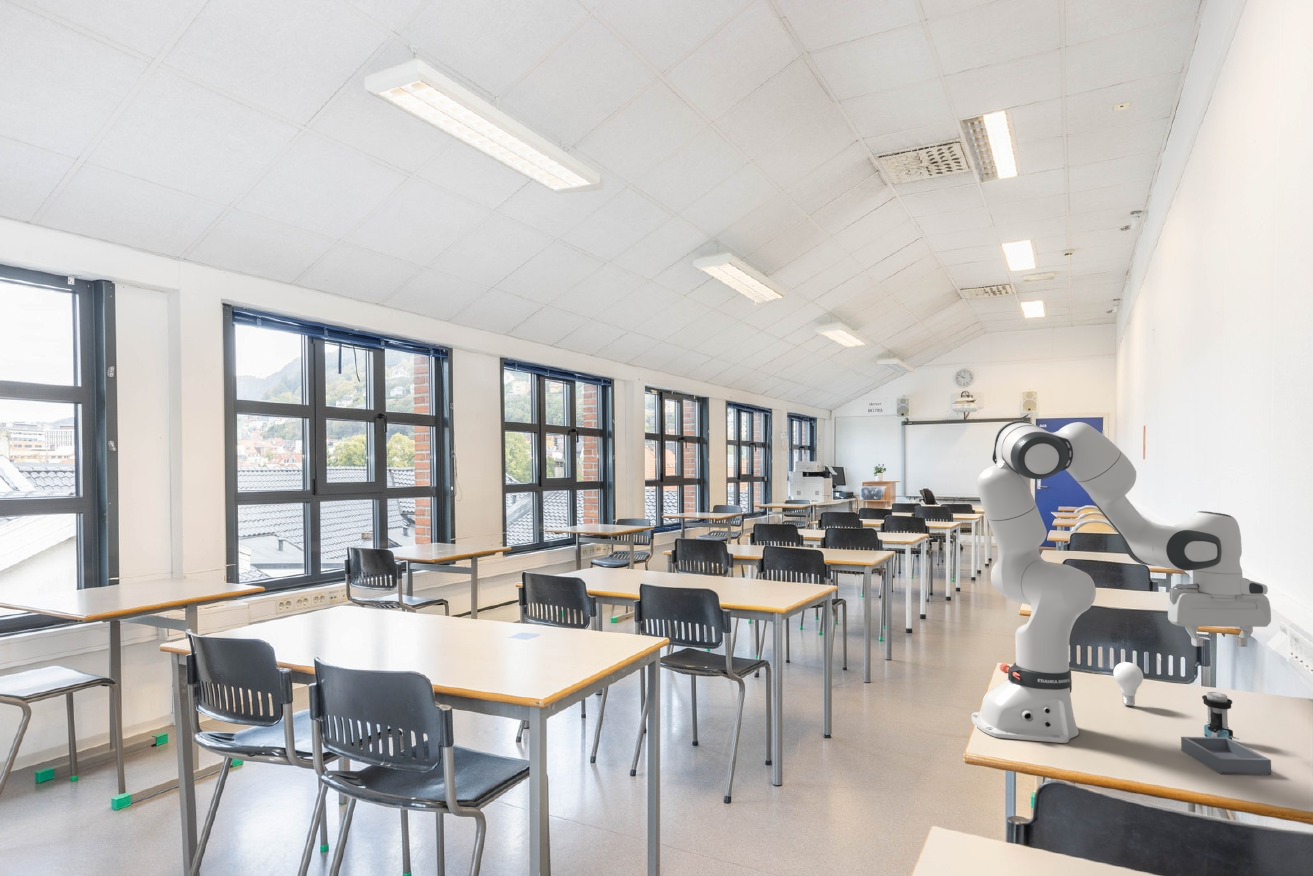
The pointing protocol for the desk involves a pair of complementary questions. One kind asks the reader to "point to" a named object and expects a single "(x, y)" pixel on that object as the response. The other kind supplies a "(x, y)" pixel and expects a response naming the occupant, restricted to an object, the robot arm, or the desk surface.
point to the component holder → (1226, 756)
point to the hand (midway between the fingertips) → (1219, 646)
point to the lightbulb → (1128, 681)
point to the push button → (1217, 715)
